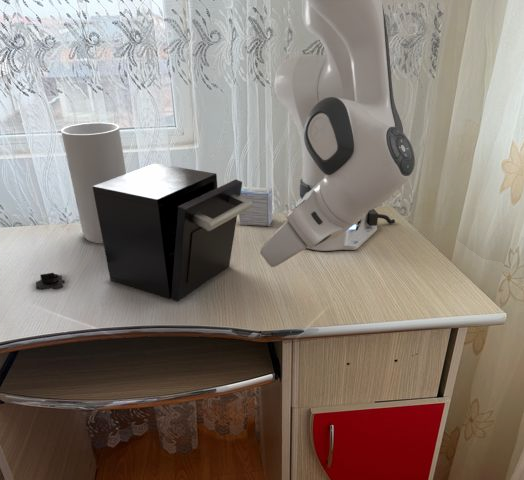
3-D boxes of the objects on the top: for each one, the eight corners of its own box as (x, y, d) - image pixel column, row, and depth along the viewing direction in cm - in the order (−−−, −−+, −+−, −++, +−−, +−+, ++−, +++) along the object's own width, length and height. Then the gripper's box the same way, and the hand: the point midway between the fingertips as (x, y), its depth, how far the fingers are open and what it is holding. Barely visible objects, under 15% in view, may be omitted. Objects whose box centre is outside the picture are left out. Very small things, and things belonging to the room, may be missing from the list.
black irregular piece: (33, 270, 112) (61, 265, 114) (36, 280, 114) (63, 275, 115) (34, 282, 108) (63, 277, 109) (37, 292, 109) (65, 287, 111)
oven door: (245, 275, 116) (261, 190, 104) (194, 311, 104) (205, 219, 91) (223, 264, 118) (235, 179, 105) (170, 298, 105) (178, 206, 93)
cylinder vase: (82, 247, 128) (59, 136, 114) (84, 228, 138) (63, 124, 124) (136, 241, 130) (119, 132, 116) (134, 223, 140) (118, 121, 126)
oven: (222, 265, 118) (216, 173, 107) (170, 299, 106) (157, 199, 94) (165, 250, 125) (155, 163, 114) (110, 281, 113) (92, 186, 101)
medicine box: (272, 220, 140) (272, 187, 135) (269, 227, 137) (268, 193, 132) (243, 218, 142) (242, 186, 137) (239, 225, 138) (237, 191, 133)
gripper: (342, 179, 95) (292, 222, 105) (286, 214, 81) (234, 260, 91) (363, 207, 96) (312, 248, 106) (312, 247, 81) (258, 290, 91)
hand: (276, 254), depth 98 cm, fingers closed
